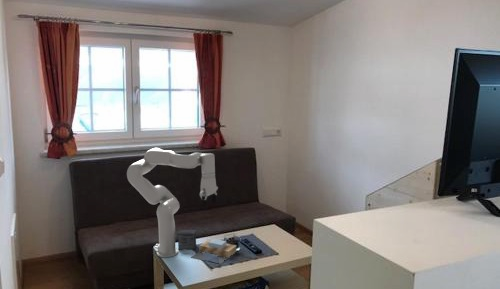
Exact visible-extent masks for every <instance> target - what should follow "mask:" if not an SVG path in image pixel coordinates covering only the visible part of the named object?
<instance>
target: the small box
mask: <svg viewBox="0 0 500 289" xmlns="http://www.w3.org/2000/svg"><path fill="white" fill-rule="evenodd" d="M196 232H197V230H196V229H188V230H178V233H177V243H178V244H177V246H178V248H177V249H178V251H186V250H187V251H188V250H190V251H191V250H193V251H194V250H196V248H197V233H196Z"/></svg>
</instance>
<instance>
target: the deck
mask: <svg viewBox="0 0 500 289" xmlns="http://www.w3.org/2000/svg"><path fill="white" fill-rule="evenodd" d="M211 240H212V239H211ZM211 240H210V239H207V240H205V241H204V242H203V243H200V244H199V246H198V252H199V251H200V252H205V253H210V254H215V255H218V256H223V257H228V259H229V258H231V257H232V256H233V255H234V254H236V253H237V245H236V244H230V243H227V242H226V246H225V247H224V248H222V249H219V248H214V247H209V246H208V242H210V241H211ZM235 252H236V253H235ZM231 255H232V256H231ZM230 256H231V257H230Z"/></svg>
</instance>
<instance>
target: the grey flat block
mask: <svg viewBox="0 0 500 289" xmlns="http://www.w3.org/2000/svg"><path fill="white" fill-rule="evenodd" d="M226 243H227V241H226V240H222V239H217V238H212V239H211V241H210V242H208V246H209V247H214V248H219V249H222V248H224V247H225V246H226Z"/></svg>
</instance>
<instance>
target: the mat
mask: <svg viewBox="0 0 500 289" xmlns="http://www.w3.org/2000/svg"><path fill="white" fill-rule="evenodd" d="M217 257H218V258H219V257H220V258H219V264H218V265H222V264H224V263H225V261H224V260H226V261H227V260H228V259H229V258H228V257H225V258H224V257H223V256H217ZM190 258H191V259H195V260H200V261H204V260H205V258H204V255H203V253H202V252H200V251H199V250H198V251H197V252H196V253H195V254H193V255H192V256H191V257H190Z"/></svg>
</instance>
